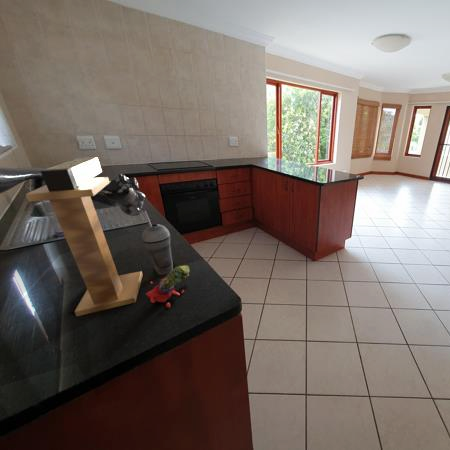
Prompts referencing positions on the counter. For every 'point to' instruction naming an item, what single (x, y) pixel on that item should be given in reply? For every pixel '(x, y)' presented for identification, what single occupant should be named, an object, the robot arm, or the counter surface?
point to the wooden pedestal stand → (90, 247)
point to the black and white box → (71, 173)
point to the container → (52, 218)
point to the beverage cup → (158, 247)
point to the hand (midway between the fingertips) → (102, 178)
